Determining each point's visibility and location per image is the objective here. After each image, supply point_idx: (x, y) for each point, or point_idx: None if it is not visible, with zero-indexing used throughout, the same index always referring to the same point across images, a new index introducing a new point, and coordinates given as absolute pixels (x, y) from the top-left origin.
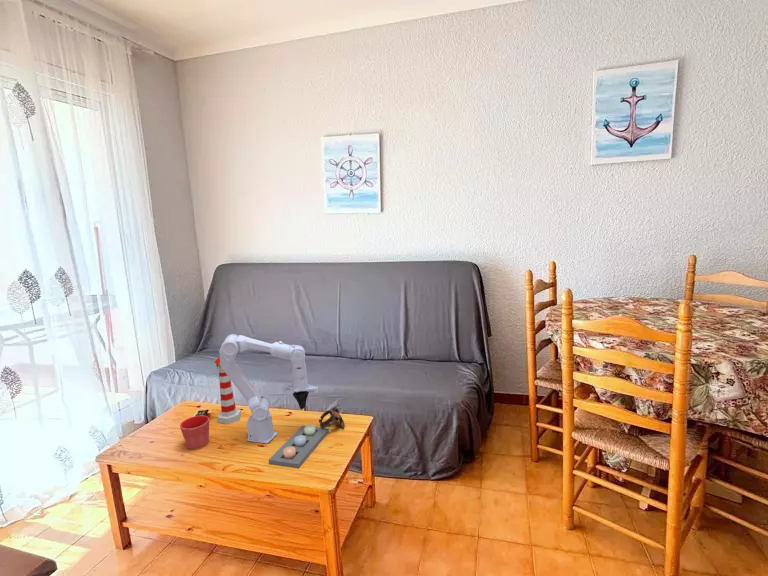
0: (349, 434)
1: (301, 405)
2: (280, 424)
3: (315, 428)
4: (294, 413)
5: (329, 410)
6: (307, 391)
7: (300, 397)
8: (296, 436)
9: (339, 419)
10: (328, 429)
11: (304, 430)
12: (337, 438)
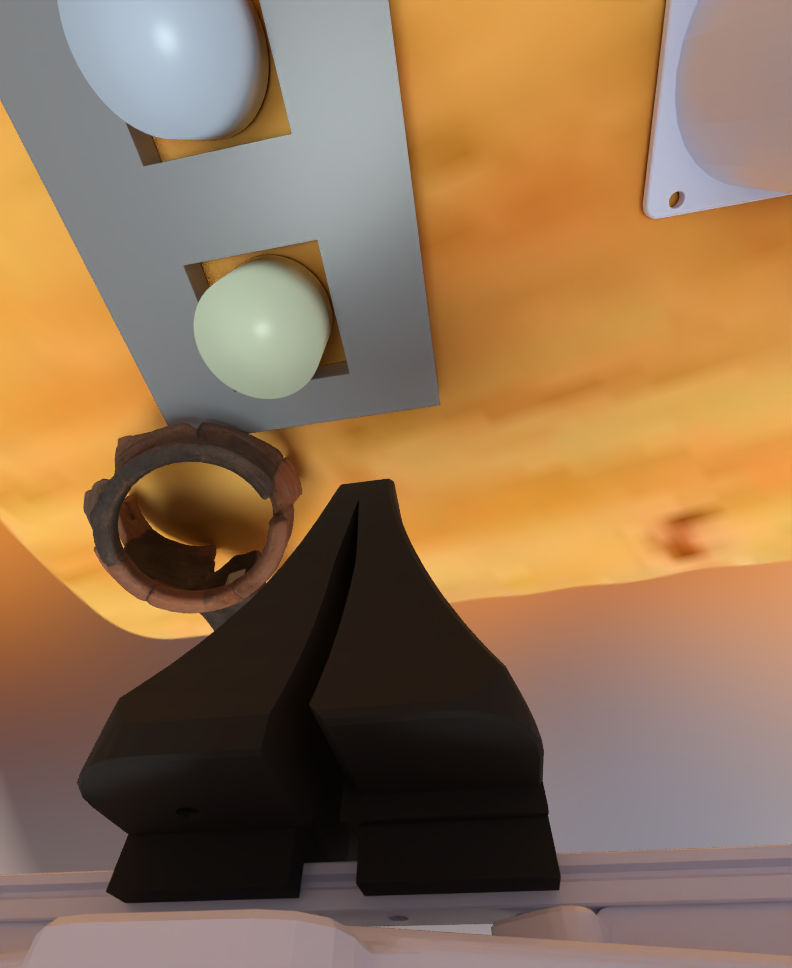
0: (19, 451)
1: (340, 515)
2: (695, 382)
3: (282, 404)
4: (642, 550)
5: (201, 601)
6: (105, 880)
7: (264, 652)
8: (234, 56)
9: (203, 565)
10: None
11: (289, 282)
12: (37, 368)
